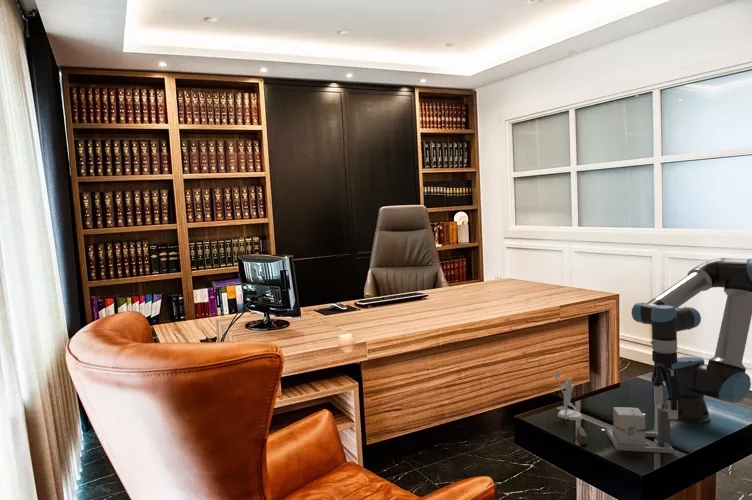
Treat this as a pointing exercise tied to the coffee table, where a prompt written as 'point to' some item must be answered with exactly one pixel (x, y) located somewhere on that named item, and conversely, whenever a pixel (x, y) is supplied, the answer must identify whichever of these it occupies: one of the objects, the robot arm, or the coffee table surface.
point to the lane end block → (581, 435)
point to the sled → (661, 435)
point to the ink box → (629, 426)
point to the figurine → (568, 401)
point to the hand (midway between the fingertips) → (665, 411)
